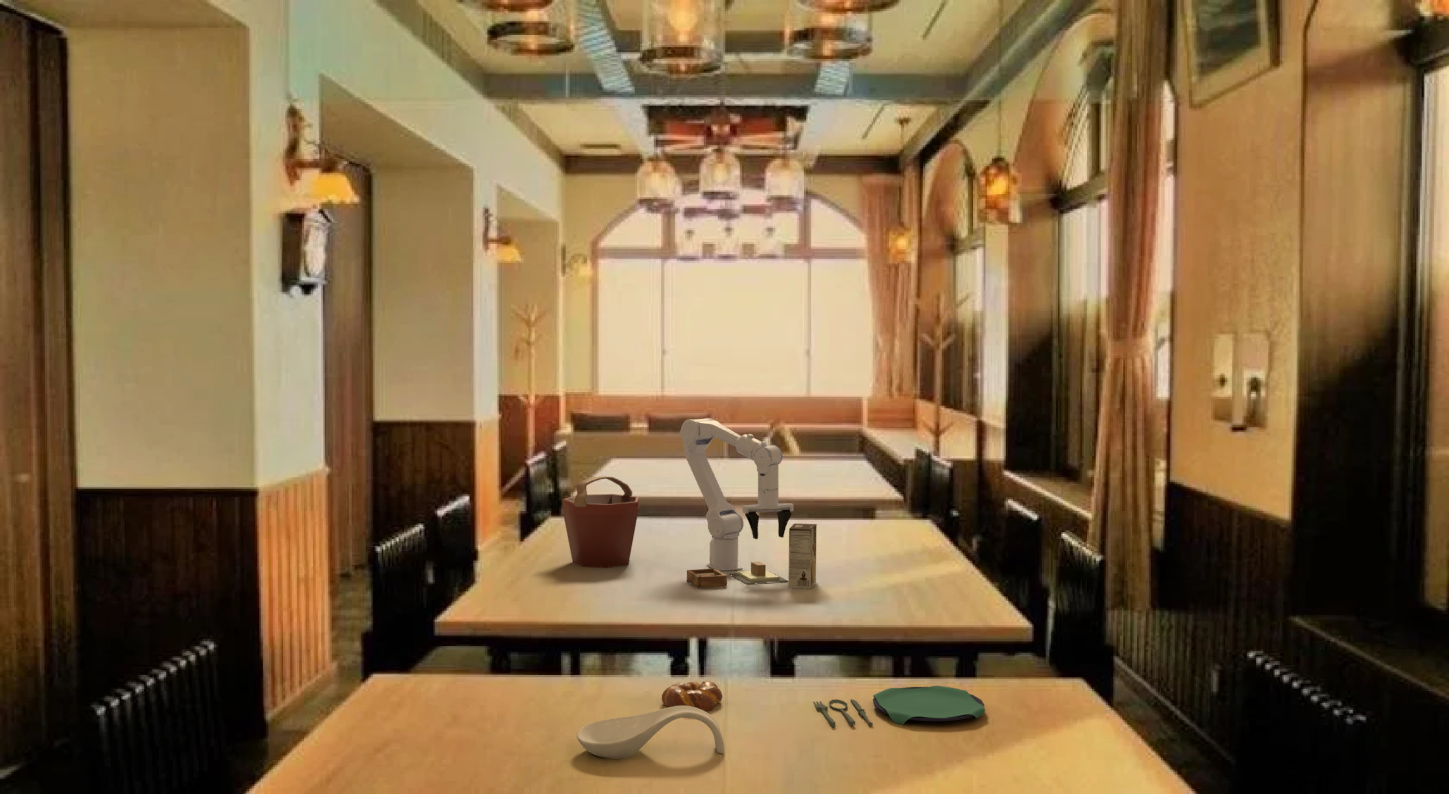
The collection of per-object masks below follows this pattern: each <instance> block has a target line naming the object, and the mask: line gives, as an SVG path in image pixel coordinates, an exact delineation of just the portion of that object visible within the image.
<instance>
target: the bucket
mask: <svg viewBox="0 0 1449 794" xmlns="http://www.w3.org/2000/svg"><path fill="white" fill-rule="evenodd" d="M600 480H608V481H610V482H612V483H614V484H615V485H617V486H619V487H620V488H621V490H622V491H623V493H624V494H616V493H606V494H605V493H599V494H598V493H597V494H596V493H595V494H594V493H593V494H588V491H587V486H588V485H590V484H593V483H594V482H597V481H600ZM575 489H576V494H575V495H574V496H573V495H572V496H569V497H565V498H562V503H561V504H562V507H561V508H562V514H563V519H564V524H565V530H566V535H567V541H568V544H569V545H568V546H569V550H570V551H569V552H570V556H571V560H572V563H574V564H576V565H577V566H580V567H582V568H583V567H584V568H585V567H586V568H601V569H603V568H604V569H605V568H606V569H608V568H614V567H615V568H616V567H623V566H624V567H625V566H629V565H630V564H629V563H630V558H631V553H632V547H633V542H634V537H635V532H636V531H635V530H636V526H637V520H638V516H639V509H640V496H635V495H633V490H632V489H631V487H630V486H629V484H627V483H626V482H623V481H622V480H620V479H618V478H616V477H613V476H607V475H605V476H604V475H601V476H591V477H589V478H586V479H583V480H580V481H579V482H576V488H575Z"/></svg>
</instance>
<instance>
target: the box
mask: <svg viewBox="0 0 1449 794" xmlns="http://www.w3.org/2000/svg"><path fill="white" fill-rule="evenodd" d="M686 582H688V583H689V582H690V583H689V584H691V585H692V586H694V587H695V588H696V589H710V588H711V589H712V588H725V586H727V587H728V575H727V574H725V573H723V572H722V571H718V570H717V569H715V568H714V569H713V568H701V569H686Z"/></svg>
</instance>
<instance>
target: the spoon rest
mask: <svg viewBox="0 0 1449 794" xmlns="http://www.w3.org/2000/svg"><path fill="white" fill-rule="evenodd" d="M681 718H691V719H695V720H697V721H700V722H701V723H703V724H704V725H706V726H707V727H708V729H710V731H711V733H712V735H713V738H714V739H713V740H714V745H715V751H716V752H717V753H718V754H724V753H725V743H724V742H725V741H724V739H723V738H724V737H723V734H722V731H721V727H720V724H719V723H718V721H717V720H716V718H715V717H713V715H712V714H710V713H708V711H703V710H701V709H698V708H695V707H691V706H674V707H669V708H668V707H665V708H661V709H658V710H654V711H650V712H646V713H640V714H635V715H630V716H623V717H615V718H608V719H607V718H606V719H603V720H598V721H595V722H592V723H589V724H586V725H584V726H583V727H581V728H580V729H579V730H578V731H577V734H576V739H577V741H578V742H579V744H580V745H581V747H582V748H584V749H585V750H586V751H587V752H589V753H590V754H593V755H595V756H596V757H597V756H598V757H601V758H605V759H617V760H618V759H626V758H630V757H633V756H634V755H635V754H636V753H637V752H638V751H639V750H641V749H642V748H643V747H644V746H645V745H646V744H647V743H648V742H649V741H650V740H651V739H652V738H653V737H654V736H655V735H656V734H658V732H659V731H661V729H663V728H664V727H665V726H666V725H668V724H670V723H671V722H673V721H675V720H677V719H678V720H679V719H681Z"/></svg>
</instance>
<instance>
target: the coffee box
mask: <svg viewBox="0 0 1449 794" xmlns="http://www.w3.org/2000/svg"><path fill="white" fill-rule="evenodd" d="M817 528H818V527H817V523H793V524H792V525H791V526H790V527H789V529H788V532H789V533H788V588H789V589H800V588H808V589H807V590H812V588H813V587H814V586H815V584H816V583H817Z"/></svg>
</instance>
